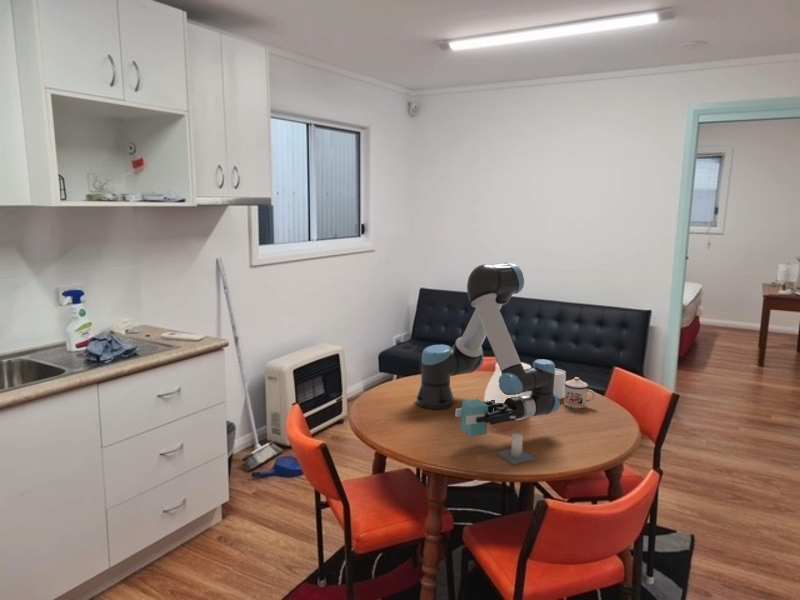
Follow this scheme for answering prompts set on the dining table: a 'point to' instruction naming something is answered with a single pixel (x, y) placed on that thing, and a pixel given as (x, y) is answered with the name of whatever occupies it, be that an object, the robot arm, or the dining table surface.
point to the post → (516, 451)
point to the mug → (559, 383)
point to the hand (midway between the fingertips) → (461, 416)
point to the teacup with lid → (576, 393)
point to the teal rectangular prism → (473, 409)
